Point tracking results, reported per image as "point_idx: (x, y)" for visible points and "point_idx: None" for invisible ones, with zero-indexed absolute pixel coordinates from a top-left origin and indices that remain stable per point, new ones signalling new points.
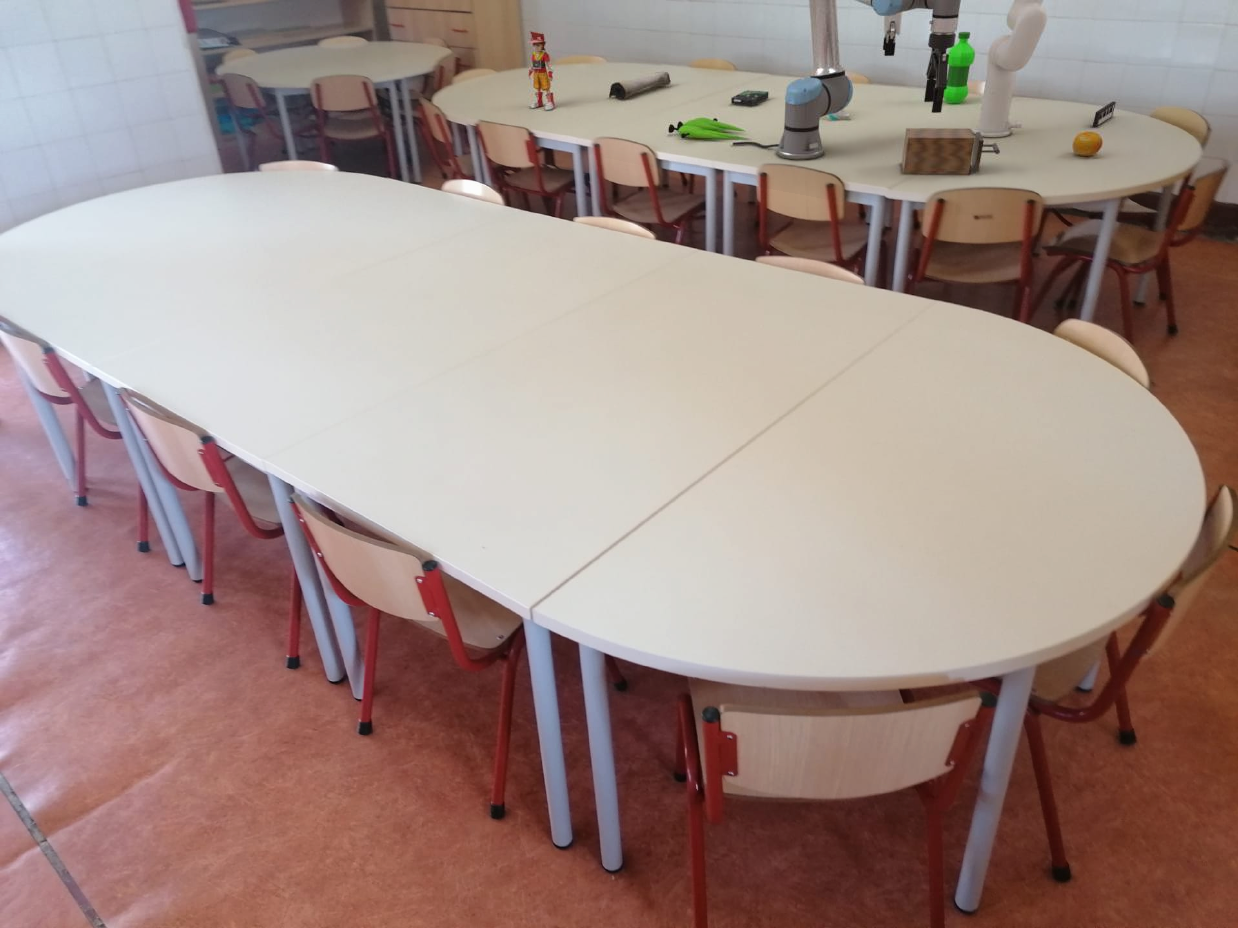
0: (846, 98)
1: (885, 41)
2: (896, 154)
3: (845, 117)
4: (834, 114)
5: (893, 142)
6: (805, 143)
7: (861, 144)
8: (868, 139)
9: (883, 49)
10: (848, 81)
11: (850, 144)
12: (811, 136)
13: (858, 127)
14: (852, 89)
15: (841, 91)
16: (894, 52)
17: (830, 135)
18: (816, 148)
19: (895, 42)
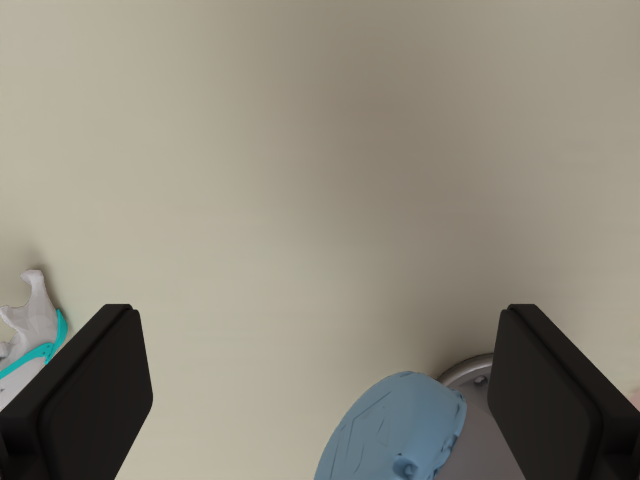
0: (472, 410)
1: (100, 478)
2: (543, 103)
3: (43, 284)
4: (50, 329)
5: (370, 105)
6: None
7: (392, 229)
8: (324, 202)
9: (148, 406)
10: (435, 470)
11: (390, 266)
12: None
13: (151, 234)
14: (438, 413)
15: (515, 469)
16: (550, 322)
17: (271, 328)
18: None
19: (614, 421)
